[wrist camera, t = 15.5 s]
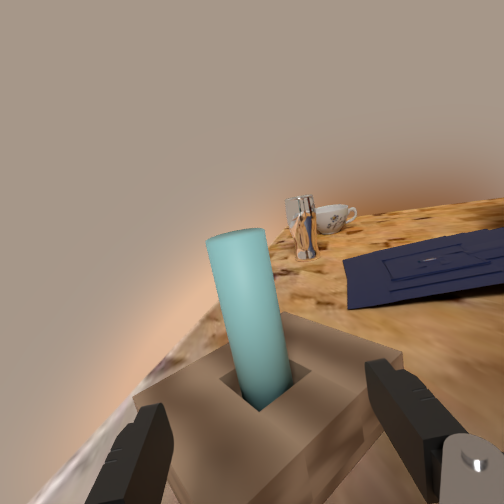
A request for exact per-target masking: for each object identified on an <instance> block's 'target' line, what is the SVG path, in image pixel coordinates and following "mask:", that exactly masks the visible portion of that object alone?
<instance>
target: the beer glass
mask: <svg viewBox="0 0 504 504" xmlns="http://www.w3.org/2000/svg"><path fill="white" fill-rule="evenodd" d="M285 205H286V206H285V207H286V215H287V221H288V225H289V228H290V231H291V234H292V237H293V240H294V243H295V250H296V254H295V258H296V260H297V261H299V262H307V261H313V260H316V259H318V258H320V252H319V249H318V246H317V239H316V234H317V216H316V209H315V204H314V200H313V195H303V196H297V197H292V198H288V199H286V200H285Z"/></svg>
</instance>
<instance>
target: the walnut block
mask: <svg viewBox="0 0 504 504" xmlns="http://www.w3.org/2000/svg"><path fill="white" fill-rule="evenodd" d="M280 315H281V321H282V326H283V331H284V337H285V342H286V347H287V353H288V358H289V363H290V369H291V374H292V379H293V386H292V387H291V388H290V389H288V390H287V391H286V392H284V393H283V394H282V395H281V396H279V397H278V398H277V399H275V400H274V401H273V402H272V403H270V404H269V405H268V406H266V407H265V408H264V409H263V410H261V411H260V412H258V411H257V410H256V409H255V408H253V407H252V406H251V405H250V404H249V403H247V402H246V401H245V400H244V399H243V398H242V394H241V390H240V385H239V381H238V377H237V373H236V369H235V364H234V360H233V356H232V352H231V348H230V343H227V344H225V345H224V346H222V347H220V348H218V349H217V350H215V351H213V352H211V353H209V354H208V355H206V356H204V357H202V358H201V359H199V360H197V361H195V362H194V363H192V364H190V365H188V366H186V367H185V368H183V369H181V370H179V371H178V372H176V373H174V374H172V375H170V376H169V377H167V378H165V379H163V380H162V381H160V382H158V383H156V384H154V385H153V386H151V387H149V388H147V389H146V390H144V391H142V392H140V393H138V394H137V395H135V396H133V400H134V403H135V406H136V409H137V412H138V411H139V409H140V408H141V407H142V406H146V405H151V404H156V403H162V404H163V405H164V408H165V411H166V414H167V417H168V420H169V423H170V426H171V429H172V432H173V437H174V452H173V456H172V460H171V464H170V468H169V472H168V476H167V480H168V482H169V484H170V486H171V488H172V490H173V492H174V494H175V496H176V498H177V499H178V501H179V503H180V504H323V503H324V502H325V501H326V500H327V498H328V497H329V496H330V495H331V494H332V492H333V491H334V490H335V489H336V488H337V486H338V485H339V484H340V483H341V482H342V480H343V479H344V478H345V477H346V476H347V474H348V473H349V472H350V471H351V470H352V468H353V467H354V466H355V465H356V464H357V462H358V461H359V460H360V459H361V458H362V456H363V455H364V454H365V453H366V452H367V450H368V449H369V448H370V447H371V446H372V444H373V443H374V442H375V441H376V440H377V438H378V437H379V436H380V435H381V434H382V432H383V431H384V429H383V427H382V425H381V424H380V422H379V420H378V419H377V417H376V415H375V413H374V411H373V409H372V407H371V404H370V401H369V397H368V390H367V382H366V374H365V366H364V365H365V362H366V361H371V360H376V359H381V358H385V359H386V360H387V361H388V362H389V363H390V364H391V365H392V367H393V368H394V369H395V370H400V369H404V366H403V354H402V352H401V351H398V350H395V349H392V348H389V347H386V346H384V345H381V344H378V343H375V342H372V341H369V340H366V339H363V338H360V337H357V336H354V335H351V334H348V333H345V332H343V331H340V330H337V329H334V328H331V327H328V326H325V325H322V324H319V323H316V322H313V321H310V320H307V319H305V318H302V317H299V316H296V315H293V314H290V313H287V312H282V313H281V314H280Z"/></svg>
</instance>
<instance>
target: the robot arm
mask: <svg viewBox="0 0 504 504" xmlns="http://www.w3.org/2000/svg"><path fill="white" fill-rule="evenodd" d="M364 366H365V374H366V382H367V390H368V397H369V401H370V404H371V407H372V409H373V411H374V413H375V415H376V417H377V419H378V420H379V422H380V424H381V425H382V427H383V429H384V431H385V432H386V434H387V436H388V437H389V439H390V441H391V442H392V444H393V446H394V448H395V449H396V451H397V453H398V454H399V456H400V458H401V460H402V461H403V463H404V465H405V466H406V468H407V470H408V472H409V473H410V475H411V477H412V478H413V480H414V482H415V484H416V485H417V487H418V489H419V490H420V492H421V494H422V495H423V497H424V499H425V501H426V502H427V504H433V503H438V502H439V504H504V452H501V451H500V450H499V449H498V448H497V447H495V446H494V445H493V444H491V443H490V442H488V441H487V440H485V439H483V438H480V437H478V436H475V435H471V434H469V433H468V432H467V431H466V430H465V429H464V428H463V427H462V425H461V424H460V423H459V422H458V421H457V420H456V419H455V418H454V417H453V416H452V415H451V413H450V412H449V411H448V410H447V409H446V408H445V407H444V406H443V405H442V404H441V403H440V401H439V400H438V399H437V398H435V396H434V395H433V394H432V393H431V392H430V391H429V389H428V390H427V387H426V386H425V385H424V384H423V383H422V382H421V381H420V380H419V378H418V377H417V376H415V375H413V374H411V373H410V372H408V371H406V370H404V369H400V370H395V369H394V368H393V367H392V365H391V364H390V363H389V362H388V361H387V360H386V359H385V358H381V359H376V360H371V361H366V362H365V365H364ZM173 452H174V437H173V432H172V429H171V426H170V423H169V420H168V417H167V414H166V411H165V408H164V405H163V404H162V403H156V404H151V405H146V406H142V407H141V408H140V409H139V411H138V414H137V416H136V418H135V420H134V423H129V424H127V426H126V427H125V428H124V429H123V430H122V431H121V432H120V434H119V435H118V436H117V438H116V440H115V442H114V444H113V446H112V448H111V452H110V453H109V454H108V456H107V458H106V460H105V464H103V466H102V468H101V471H100V473H99V475H98V477H97V479H96V481H95V483H94V485H93V487H92V489H91V491H90V493H89V495H88V497H87V499H86V501H85V503H84V504H161V501H162V497H163V493H164V488H165V484H166V480H167V476H168V472H169V468H170V464H171V460H172V456H173Z"/></svg>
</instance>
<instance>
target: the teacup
mask: <svg viewBox="0 0 504 504" xmlns="http://www.w3.org/2000/svg"><path fill="white" fill-rule="evenodd" d="M350 211H354V213H355V216H354V217H353V218H352V219H350V220H348V221H346V219H347V216H348V215H349V212H350ZM316 216H317V230H318V231H320V232H321V233H322V234H334V233H337V232H339V231H340V229H341V228H342V227H343V226H344V225H345V224H346V223H349V222H351V221H353V220H354V219H355V218H356V216H357V210H356V209H355V208H353V207H352V208H350V209H348V205H340V204H338V205H329V206H323V207H319V208H316Z"/></svg>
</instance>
